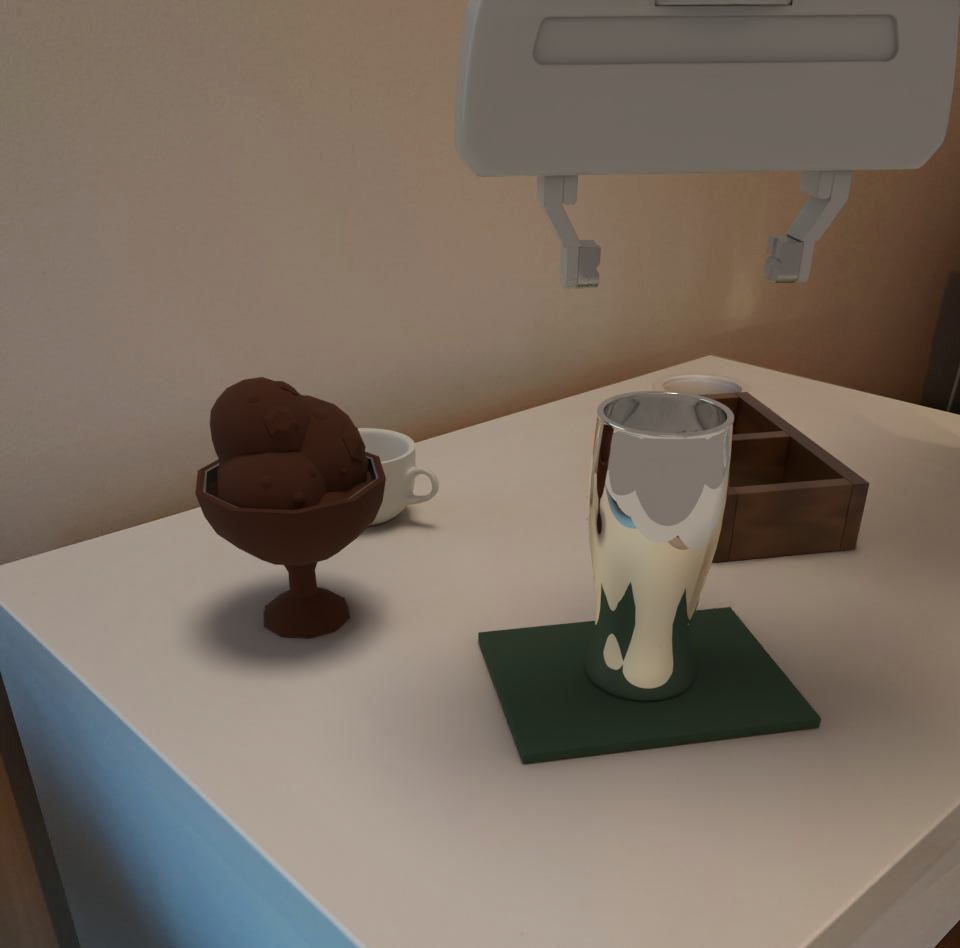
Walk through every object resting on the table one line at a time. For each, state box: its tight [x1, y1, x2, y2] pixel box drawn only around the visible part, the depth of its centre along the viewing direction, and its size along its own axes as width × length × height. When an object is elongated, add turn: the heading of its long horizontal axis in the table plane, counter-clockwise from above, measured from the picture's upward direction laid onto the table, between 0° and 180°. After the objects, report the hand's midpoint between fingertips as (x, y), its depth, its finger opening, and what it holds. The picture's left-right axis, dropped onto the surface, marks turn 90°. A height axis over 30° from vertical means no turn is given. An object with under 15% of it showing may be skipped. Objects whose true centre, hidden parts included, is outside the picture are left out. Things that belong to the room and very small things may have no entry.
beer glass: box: [585, 390, 734, 701], centre depth 52 cm, size 7×7×15 cm
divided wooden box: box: [698, 391, 870, 563], centre depth 76 cm, size 11×20×5 cm, turn 11°
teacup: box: [357, 427, 440, 526], centre depth 74 cm, size 10×8×5 cm
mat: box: [477, 606, 822, 764], centre depth 56 cm, size 16×12×1 cm
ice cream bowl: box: [194, 376, 386, 639], centre depth 59 cm, size 11×11×15 cm
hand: (682, 283), depth 45 cm, fingers open, 8 cm apart
